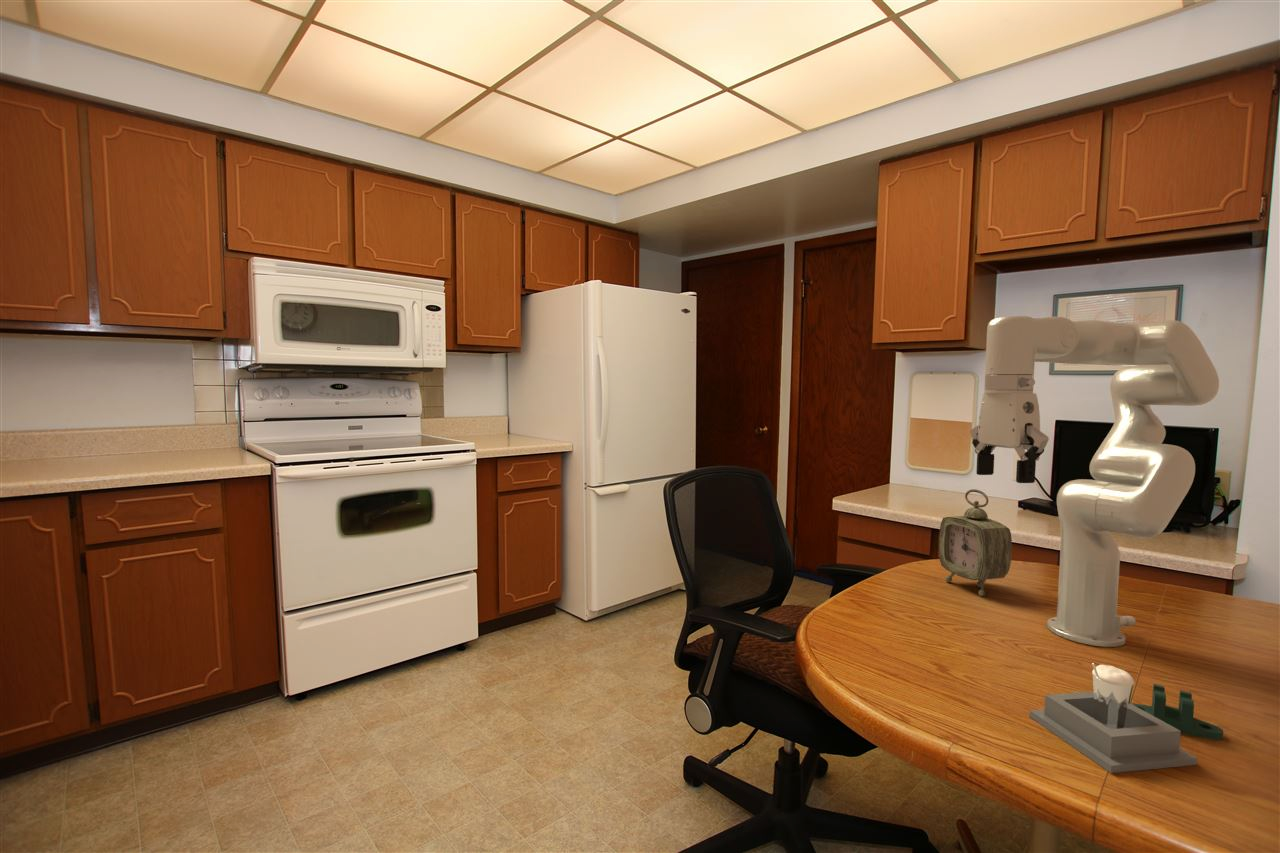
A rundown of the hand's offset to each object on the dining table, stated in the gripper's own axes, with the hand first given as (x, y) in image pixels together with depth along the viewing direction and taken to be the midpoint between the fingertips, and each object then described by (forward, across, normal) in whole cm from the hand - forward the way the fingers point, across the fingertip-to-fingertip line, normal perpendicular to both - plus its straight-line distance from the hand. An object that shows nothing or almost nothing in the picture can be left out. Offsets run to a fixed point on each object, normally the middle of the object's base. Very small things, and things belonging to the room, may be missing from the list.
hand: (1004, 478), depth 106 cm
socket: (+33, -26, +4) cm, 42 cm away
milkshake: (+32, -26, +4) cm, 42 cm away
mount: (+34, -24, -9) cm, 42 cm away
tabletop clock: (+34, +34, -22) cm, 53 cm away
